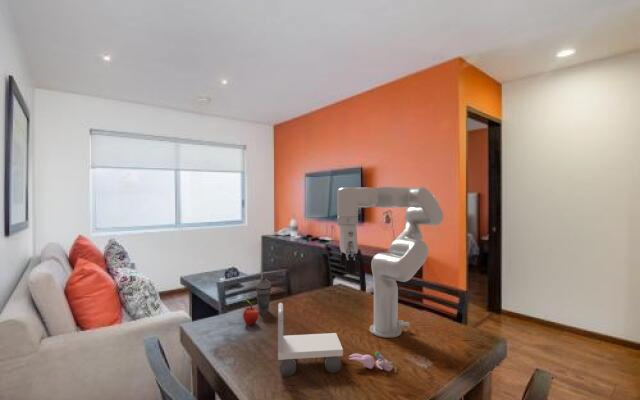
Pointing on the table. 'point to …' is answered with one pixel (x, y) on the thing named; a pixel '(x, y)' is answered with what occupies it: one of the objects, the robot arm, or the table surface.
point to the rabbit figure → (369, 361)
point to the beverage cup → (263, 294)
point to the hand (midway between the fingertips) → (347, 268)
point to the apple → (250, 315)
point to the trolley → (307, 348)
